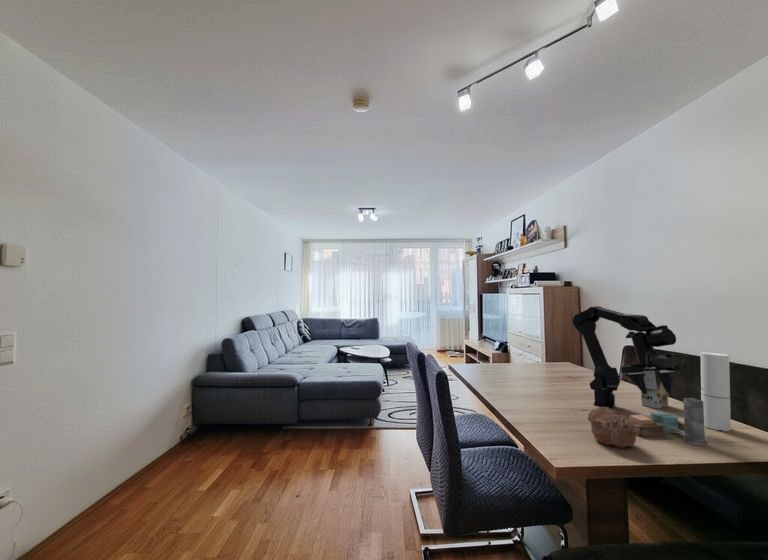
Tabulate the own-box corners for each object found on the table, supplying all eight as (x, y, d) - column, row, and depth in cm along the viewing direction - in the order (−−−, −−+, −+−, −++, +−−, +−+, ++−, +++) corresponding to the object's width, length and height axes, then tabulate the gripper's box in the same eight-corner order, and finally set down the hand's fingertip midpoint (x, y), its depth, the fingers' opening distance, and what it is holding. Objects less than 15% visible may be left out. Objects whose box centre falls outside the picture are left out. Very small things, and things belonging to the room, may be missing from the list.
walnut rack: (619, 427, 115) (619, 418, 116) (668, 425, 118) (667, 416, 118) (638, 436, 108) (638, 427, 108) (690, 434, 110) (690, 425, 110)
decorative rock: (581, 434, 109) (580, 403, 110) (614, 433, 110) (613, 402, 111) (611, 453, 96) (610, 417, 97) (648, 452, 97) (647, 416, 98)
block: (629, 428, 115) (629, 415, 115) (641, 428, 115) (641, 415, 115) (641, 434, 110) (640, 420, 110) (653, 433, 111) (653, 419, 111)
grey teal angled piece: (651, 427, 116) (649, 389, 116) (664, 427, 116) (662, 388, 117) (694, 445, 101) (692, 401, 102) (709, 445, 102) (707, 401, 103)
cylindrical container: (722, 425, 118) (721, 353, 120) (735, 432, 112) (734, 356, 113) (697, 422, 121) (696, 351, 122) (708, 429, 114) (707, 354, 115)
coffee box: (659, 409, 135) (658, 368, 136) (641, 405, 140) (639, 366, 141) (668, 405, 140) (667, 366, 141) (650, 401, 145) (648, 364, 146)
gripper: (639, 346, 115) (653, 395, 110) (687, 344, 117) (703, 392, 113) (614, 350, 126) (626, 395, 121) (659, 348, 128) (672, 392, 123)
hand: (657, 393), depth 119 cm, fingers open, 9 cm apart
